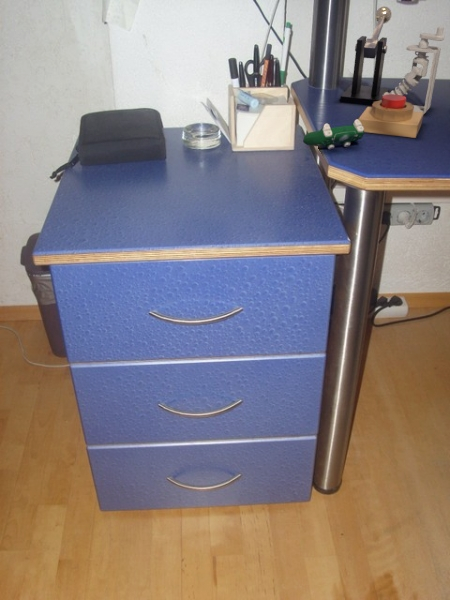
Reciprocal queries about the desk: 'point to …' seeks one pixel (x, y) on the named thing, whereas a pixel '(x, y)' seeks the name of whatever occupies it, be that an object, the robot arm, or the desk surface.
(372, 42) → the lever
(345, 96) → the bracket
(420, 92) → the desk surface
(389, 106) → the button
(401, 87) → the clamp
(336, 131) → the green toy race car
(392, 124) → the button block
